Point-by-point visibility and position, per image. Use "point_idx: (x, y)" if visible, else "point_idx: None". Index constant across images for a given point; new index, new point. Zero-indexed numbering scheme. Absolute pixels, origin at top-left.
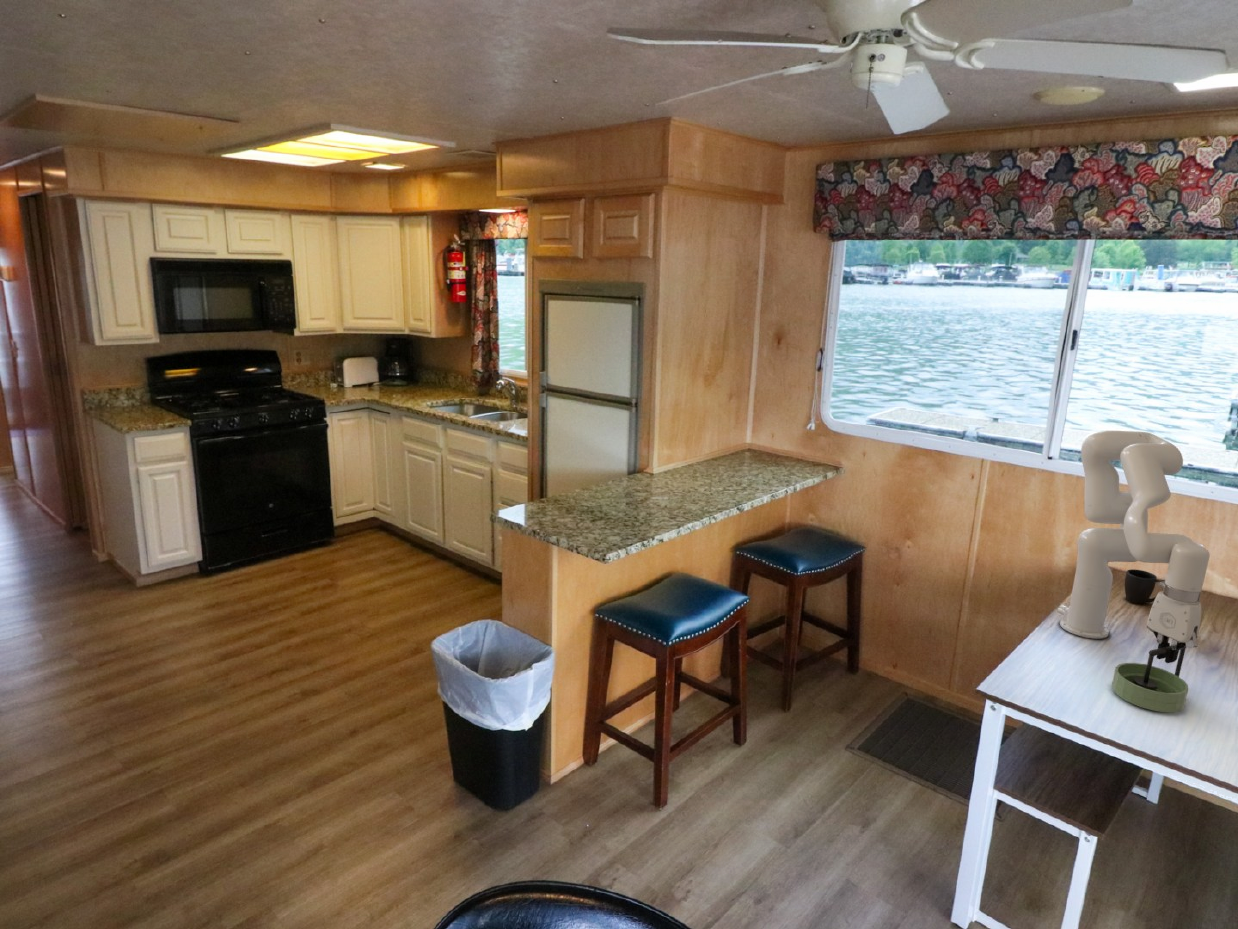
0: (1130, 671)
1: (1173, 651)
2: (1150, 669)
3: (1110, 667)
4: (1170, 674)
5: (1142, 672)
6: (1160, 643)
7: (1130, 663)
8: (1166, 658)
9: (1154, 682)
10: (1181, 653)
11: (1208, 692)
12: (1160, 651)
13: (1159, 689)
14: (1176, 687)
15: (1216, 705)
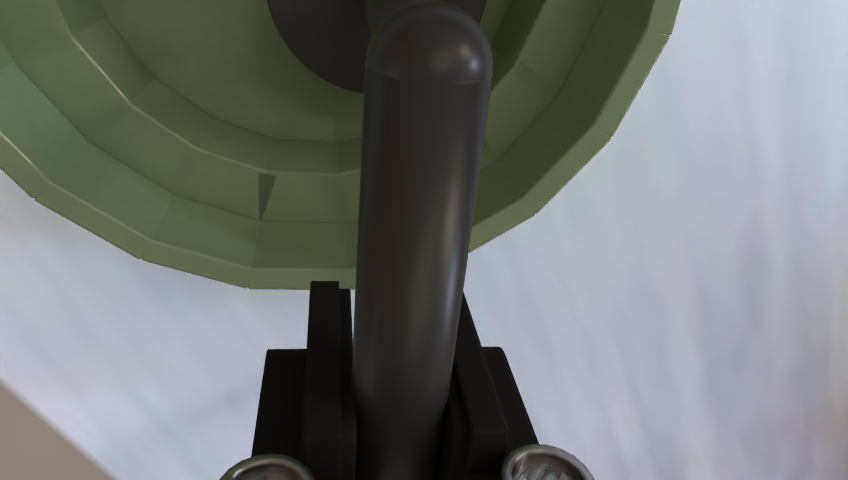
0: (580, 61)
1: (276, 453)
2: (365, 3)
3: (732, 157)
4: (295, 265)
5: (507, 155)
6: (508, 459)
7: (630, 73)
8: (331, 313)
9: (332, 65)
10: None
11: (213, 442)
12: (370, 257)
13: (334, 144)
14: (201, 195)
15: (56, 346)
